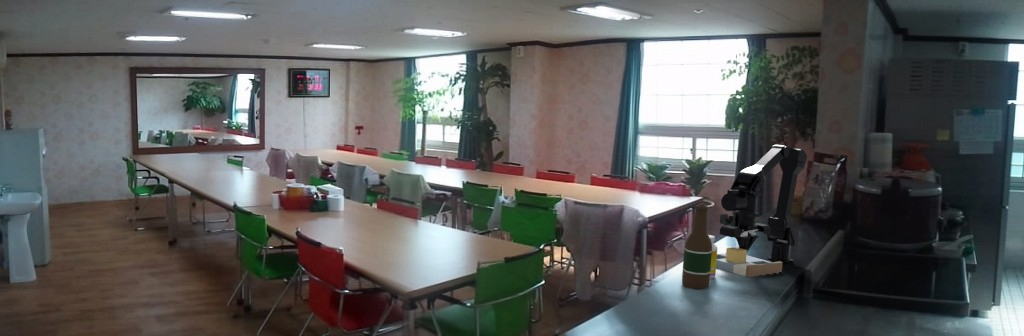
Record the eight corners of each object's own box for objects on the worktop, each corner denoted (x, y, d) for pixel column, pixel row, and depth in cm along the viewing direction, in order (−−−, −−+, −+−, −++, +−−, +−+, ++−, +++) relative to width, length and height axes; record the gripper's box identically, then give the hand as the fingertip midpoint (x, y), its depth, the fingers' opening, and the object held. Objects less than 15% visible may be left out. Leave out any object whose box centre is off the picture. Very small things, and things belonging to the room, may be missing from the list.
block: (735, 258, 220) (736, 247, 220) (745, 262, 216) (746, 250, 216) (725, 259, 218) (726, 248, 218) (736, 263, 214) (737, 251, 214)
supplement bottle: (712, 274, 208) (716, 234, 207) (717, 280, 202) (720, 238, 200) (691, 272, 209) (694, 233, 207) (694, 278, 202) (698, 237, 201)
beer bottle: (709, 284, 196) (716, 204, 194) (708, 291, 189) (715, 208, 186) (682, 281, 199) (688, 202, 196) (680, 287, 191) (686, 205, 189)
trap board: (735, 259, 231) (736, 249, 231) (781, 272, 215) (782, 262, 214) (702, 262, 223) (703, 252, 223) (748, 277, 207) (749, 266, 206)
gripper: (746, 204, 229) (742, 248, 231) (708, 206, 220) (704, 252, 222) (773, 209, 220) (769, 255, 221) (734, 212, 210) (730, 260, 212)
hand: (743, 255), depth 219 cm, fingers closed
